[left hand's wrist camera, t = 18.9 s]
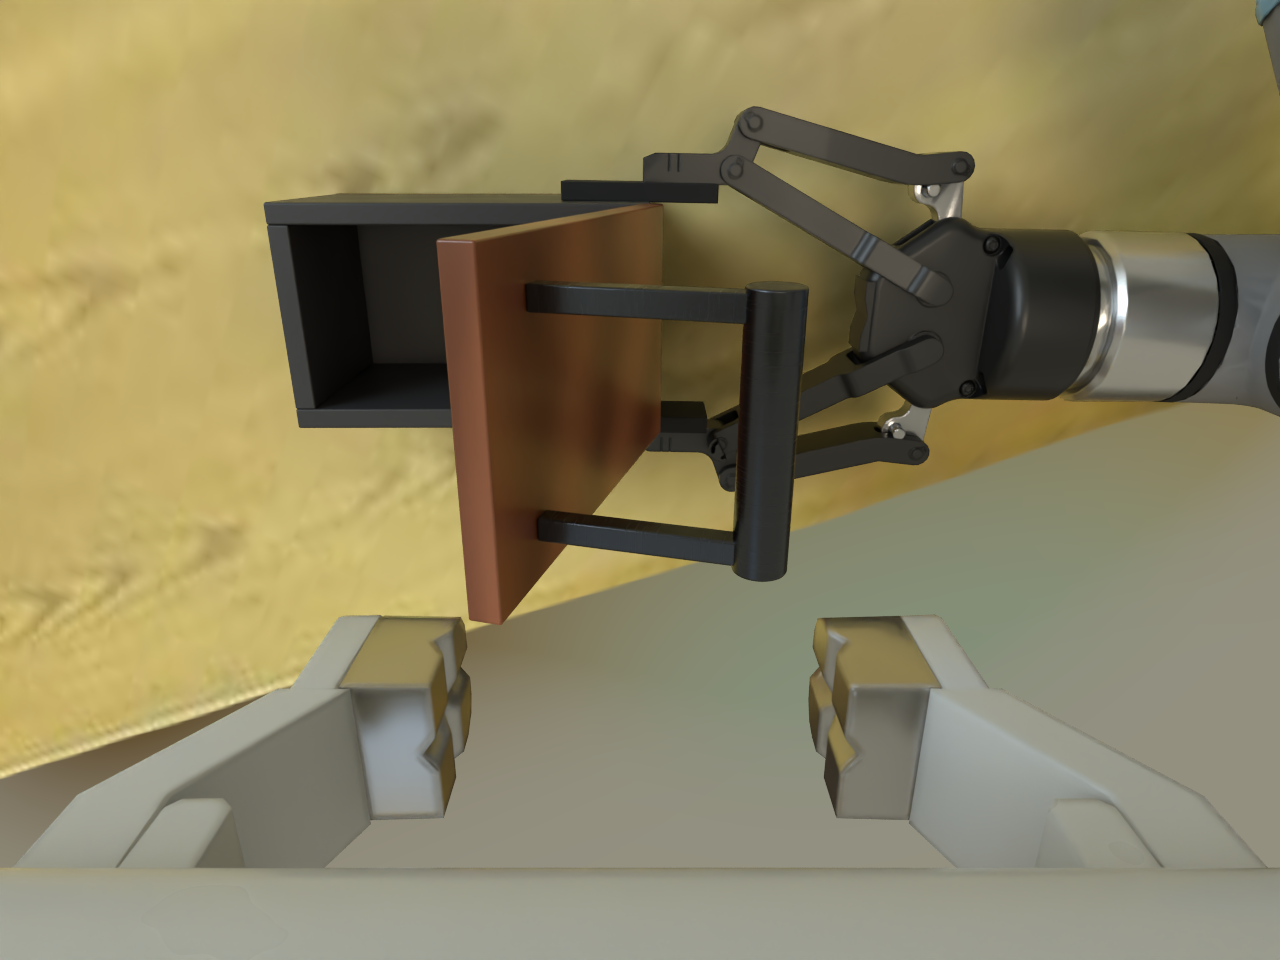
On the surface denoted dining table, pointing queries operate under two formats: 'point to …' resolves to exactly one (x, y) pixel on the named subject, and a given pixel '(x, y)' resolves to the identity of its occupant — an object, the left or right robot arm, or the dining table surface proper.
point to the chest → (379, 297)
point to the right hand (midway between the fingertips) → (566, 308)
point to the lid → (599, 397)
